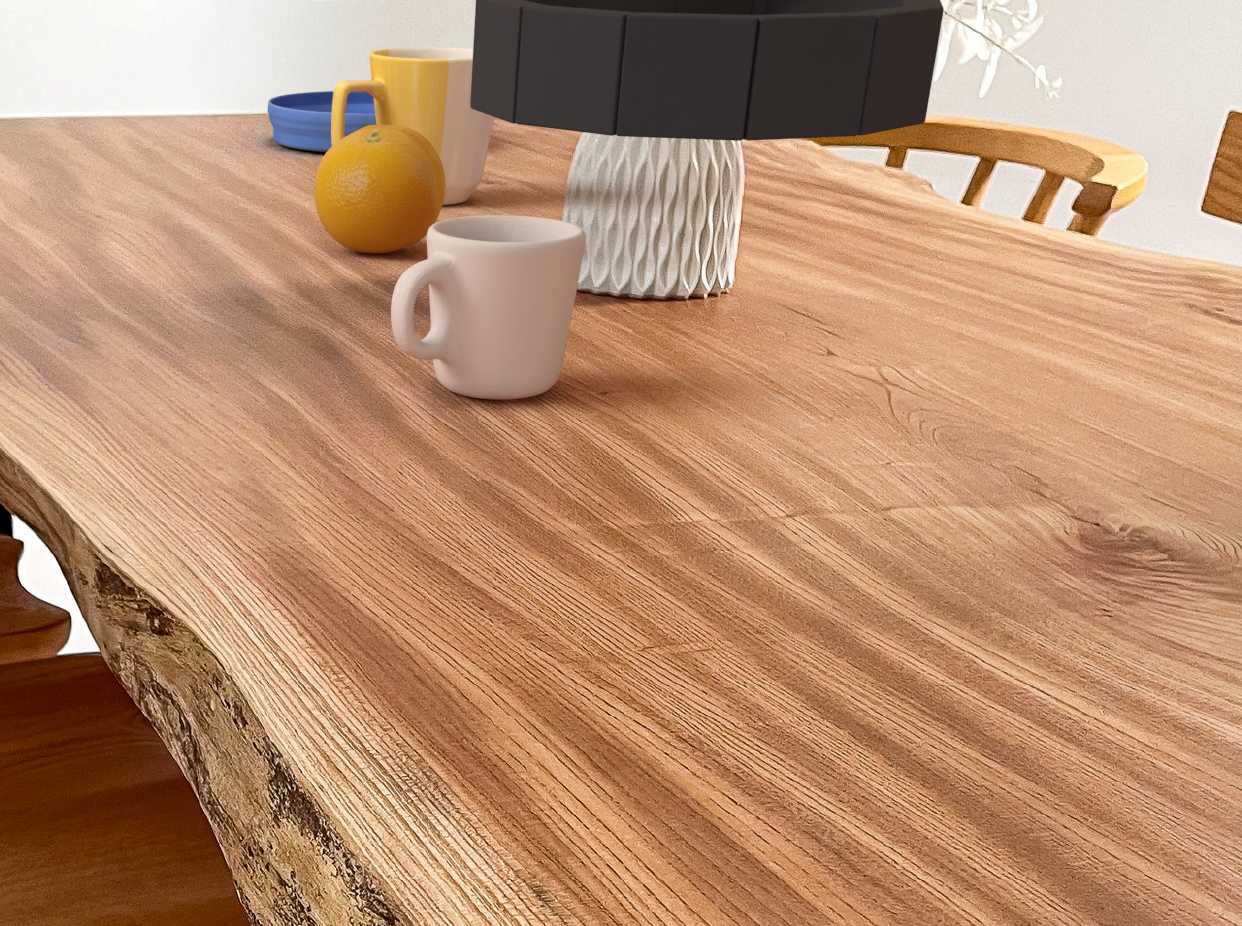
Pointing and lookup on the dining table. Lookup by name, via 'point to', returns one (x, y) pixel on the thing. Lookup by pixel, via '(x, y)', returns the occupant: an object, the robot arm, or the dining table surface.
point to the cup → (493, 303)
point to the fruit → (380, 189)
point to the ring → (706, 67)
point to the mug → (427, 108)
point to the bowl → (316, 118)
